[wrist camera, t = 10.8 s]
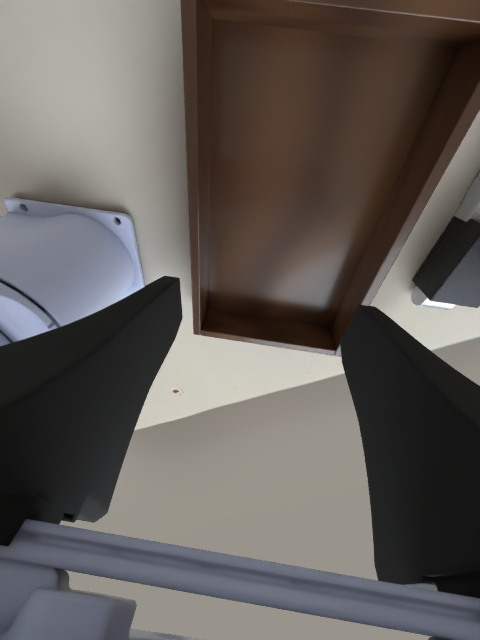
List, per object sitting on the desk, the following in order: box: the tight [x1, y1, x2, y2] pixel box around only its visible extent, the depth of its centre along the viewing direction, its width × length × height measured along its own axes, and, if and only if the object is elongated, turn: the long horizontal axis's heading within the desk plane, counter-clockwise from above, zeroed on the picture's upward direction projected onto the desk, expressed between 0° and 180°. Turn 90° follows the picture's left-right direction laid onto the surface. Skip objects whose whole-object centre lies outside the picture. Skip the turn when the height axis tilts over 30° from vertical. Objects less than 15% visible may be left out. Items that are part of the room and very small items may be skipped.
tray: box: [181, 0, 480, 356], centre depth 15 cm, size 12×18×4 cm
